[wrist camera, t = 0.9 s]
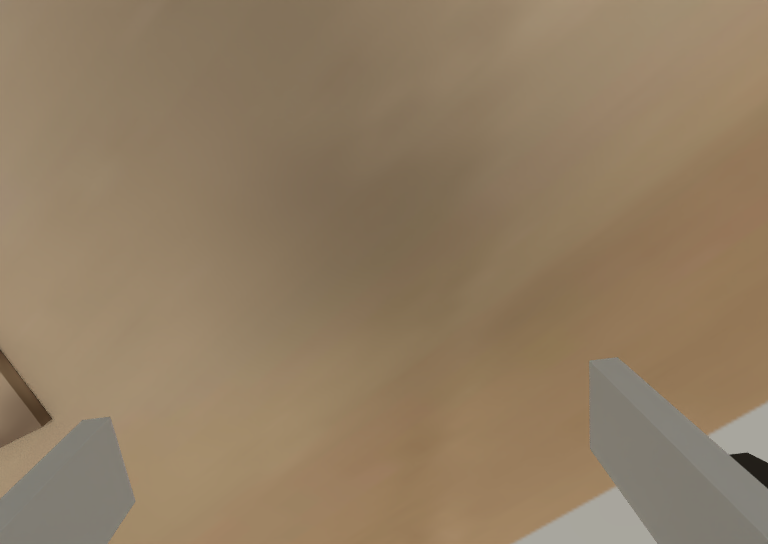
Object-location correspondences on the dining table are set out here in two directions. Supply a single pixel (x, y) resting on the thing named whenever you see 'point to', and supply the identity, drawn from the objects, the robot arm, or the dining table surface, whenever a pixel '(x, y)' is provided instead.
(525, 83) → the dining table surface
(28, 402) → the brown board with frame
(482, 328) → the dining table surface
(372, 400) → the dining table surface
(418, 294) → the dining table surface
